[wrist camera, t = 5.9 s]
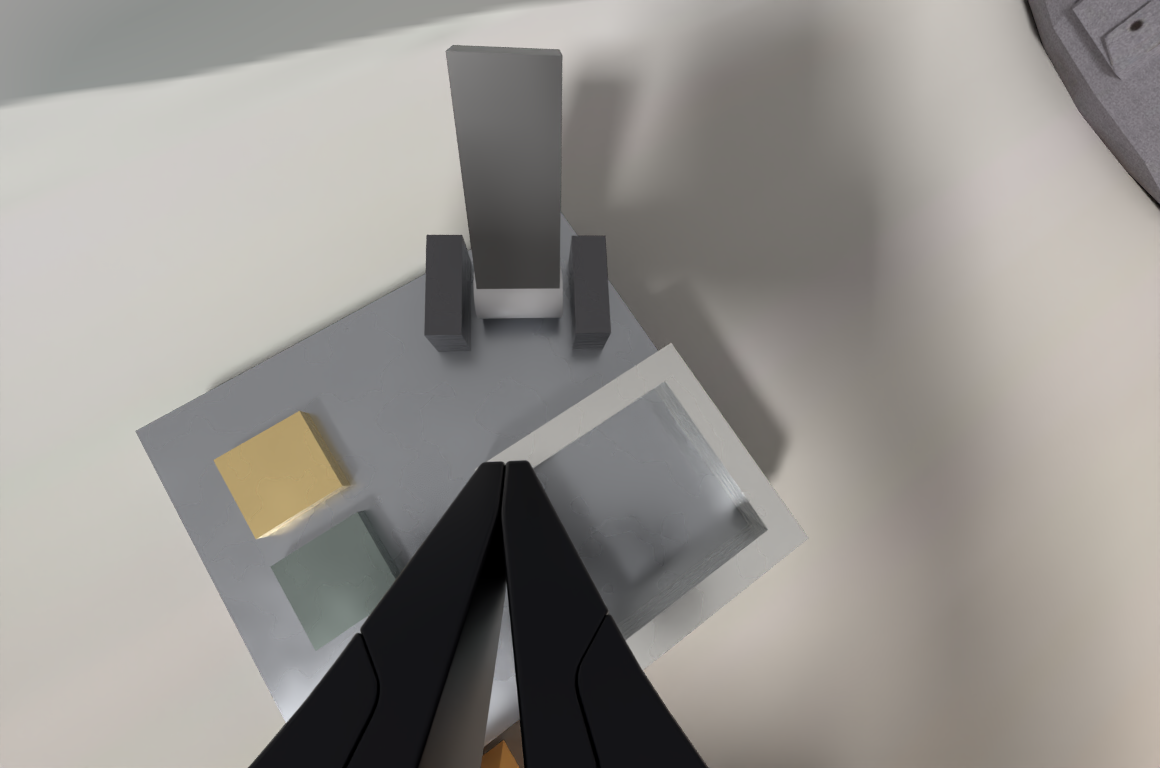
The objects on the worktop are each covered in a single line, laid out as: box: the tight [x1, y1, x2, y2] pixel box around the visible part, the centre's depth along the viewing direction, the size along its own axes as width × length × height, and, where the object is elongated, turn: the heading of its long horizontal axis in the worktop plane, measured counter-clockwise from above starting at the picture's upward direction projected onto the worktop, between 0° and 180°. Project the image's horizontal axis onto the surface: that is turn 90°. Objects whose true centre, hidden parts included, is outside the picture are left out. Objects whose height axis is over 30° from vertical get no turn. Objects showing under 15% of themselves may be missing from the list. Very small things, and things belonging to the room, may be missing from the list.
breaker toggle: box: [446, 45, 563, 319], centre depth 14 cm, size 2×3×8 cm
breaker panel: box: [136, 212, 809, 747], centre depth 16 cm, size 16×17×4 cm
